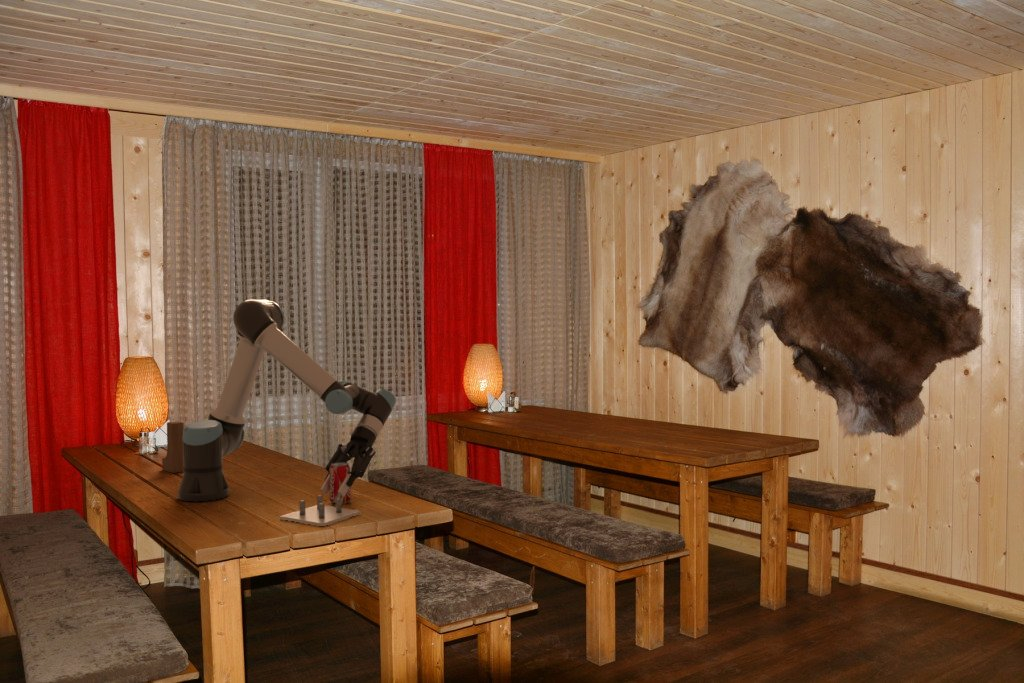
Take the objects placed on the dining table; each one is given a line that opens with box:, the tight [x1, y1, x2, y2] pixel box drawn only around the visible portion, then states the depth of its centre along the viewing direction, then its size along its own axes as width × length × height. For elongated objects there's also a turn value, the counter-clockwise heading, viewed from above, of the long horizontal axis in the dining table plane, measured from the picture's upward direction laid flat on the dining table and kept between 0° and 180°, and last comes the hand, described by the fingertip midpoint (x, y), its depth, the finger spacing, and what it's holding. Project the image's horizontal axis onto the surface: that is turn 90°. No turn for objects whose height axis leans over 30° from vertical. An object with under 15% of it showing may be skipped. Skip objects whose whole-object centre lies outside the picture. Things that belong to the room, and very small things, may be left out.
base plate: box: [279, 504, 362, 527], centre depth 245 cm, size 16×16×1 cm
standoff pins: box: [298, 494, 343, 519], centre depth 245 cm, size 9×9×4 cm
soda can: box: [329, 462, 352, 505], centre depth 262 cm, size 6×6×12 cm
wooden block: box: [161, 420, 185, 474], centre depth 310 cm, size 9×4×18 cm, turn 46°
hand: (332, 493), depth 259 cm, fingers closed on soda can, 6 cm apart
